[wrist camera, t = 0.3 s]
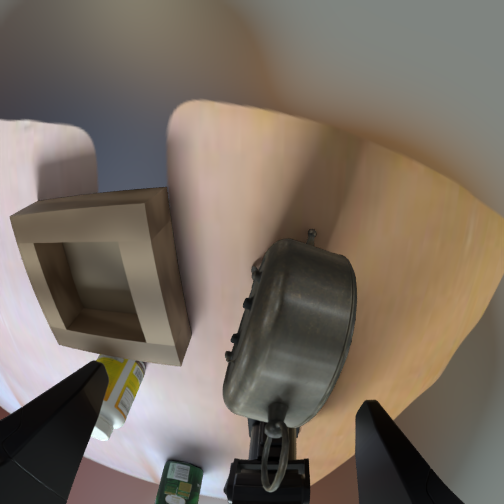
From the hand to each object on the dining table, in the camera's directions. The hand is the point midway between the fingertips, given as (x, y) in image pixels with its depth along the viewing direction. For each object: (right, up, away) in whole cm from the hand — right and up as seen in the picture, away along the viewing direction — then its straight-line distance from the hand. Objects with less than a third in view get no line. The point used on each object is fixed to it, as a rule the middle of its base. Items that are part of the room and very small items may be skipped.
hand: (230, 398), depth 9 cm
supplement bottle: (-14, -7, +21) cm, 26 cm away
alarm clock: (+3, +3, +14) cm, 15 cm away
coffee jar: (-13, -38, +36) cm, 54 cm away
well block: (-12, +3, +15) cm, 20 cm away
